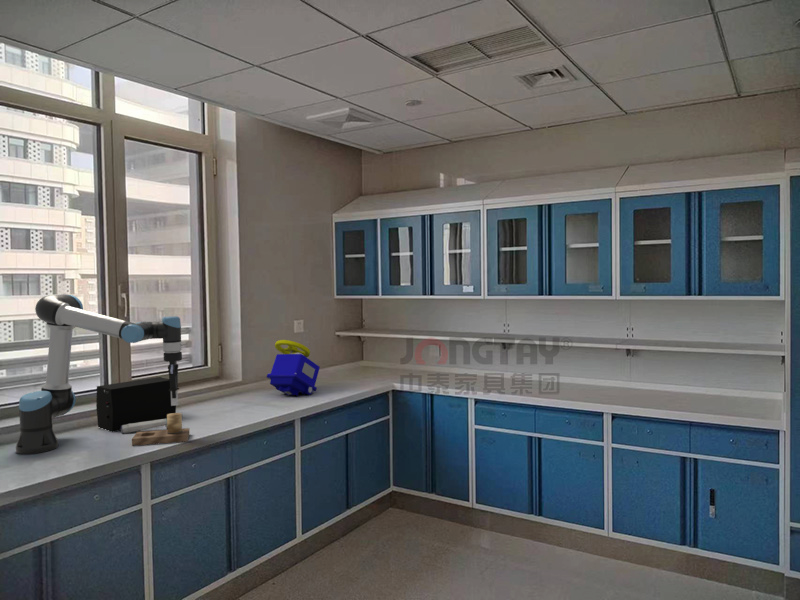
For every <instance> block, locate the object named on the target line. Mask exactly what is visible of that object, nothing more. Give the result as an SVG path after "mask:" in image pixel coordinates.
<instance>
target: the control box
mask: <svg viewBox="0 0 800 600" xmlns="http://www.w3.org/2000/svg"><path fill="white" fill-rule="evenodd" d="M282 346H287V347H285V348H283V347H282ZM274 348H275V350H277V351H278V352H280V353H279V354H278V353H277V354H276V356H275V358H274V363H273V364H272V365H273V366H272V368H271V372H268V373H267V375H266V378H267V379H269V380H270V381H269V384H270V385H271V386H273V387H274V388H275V390H276V391H277V390H278V391H279V392H282V393H283V394H284V395H285V394H286V396H288V395H289V396H295V395H296V397H298V395H299V393H301V394H302V395H303V394H307V395H309V396H310V395H312V394H313V392H316V391H317V386H316V383H317V379H318V375H319V372H320V368H321V367H320V366H319V365H318V364H316V363H315V362H314V361H312V360H311V359H310V358H308V357H309V356H310V354H311V351H310V349H309V347H307V346H306V345H304V344H301V342H300V343H299V342H297V341H294V340H288V339H279V340H277V341H276V342H275V344H274ZM281 353H282V354H281Z"/></svg>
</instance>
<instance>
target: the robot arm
mask: <svg viewBox="0 0 800 600" xmlns="http://www.w3.org/2000/svg"><path fill="white" fill-rule="evenodd" d="M34 309H35V314H36V316H37V317H38V319H39V320H41V321H43V322H44V323H46V325H47V327H49V330H50V331H49V341H48V354H47V364H46V365H47V367H46V378H45V383H43V384H42V385H41V389H40V390H38V391H33V392H29V393H25V394H24V395H22V396H21V397H20V398H19V401H18V403H19V404H18V410H19V413H18V414H19V435H18V437H17V438H18V439H17V443H16V445H15V453H17V454H20V455H31V454H34V455H35V454H40V453H45V452H50V451H53V450H54V449H57V448H58V447H59V440H58V437H57V436H56V434H55V431H54V429H53V428H54V427H53V419H55V418H58V417H61V416H64V415H65V414H67V413H69V412H70V411H71V410H73V408H74V407H75V404H76V401H77V399H76V395H75V393H74V391H73V390H72V389H73V385H72V384H70V383H69V376H70V366H71V365H70V364H71V354H72V342H73V331H74V329H75V328H79V329H83V330H86V331H87V330H88V331H90V332H95V333H99V334H103V335H107V336H110V337H114V338H118V339H122V340H123V341H125V343H128V344H136V343H139V342H143V341H147V340H155V339H162V350H163V361H164V362H169V364H168V365H167V370H168V377H169V378H168V379H169V382H170V390H169V391H171V406H175V405H176V406H179V397H178V396H179V394H178V393H179V392H178V390H180V387H179V385H178V384H179V382H178V381H179V379H178V377H179V375H178V374H179V364H178V363H177V362H180V361H182V360H183V353H182V347H183V346H184V344H183V343H182V324H181V318H180V317H179V316H163V317H162V319H161V321H138V322H135V323H134V322H132V321H127V320H123V319H120V318H116V317H112V316H109V315H104V314H101V313H97V312H93V311H90V310H89V311H88V310H86V309H84V305H83V302H82V301H81V300H80V298H78V297H77V296H75V295H74V294H73V295H72V294H66V293H63V294H62V293H61V294H49V295H48V294H47V295H44V296H43V297H41V298H39V300H38V301H37V302H36V304H35V307H34Z"/></svg>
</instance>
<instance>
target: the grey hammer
mask: <svg viewBox="0 0 800 600" xmlns="http://www.w3.org/2000/svg"><path fill="white" fill-rule="evenodd" d="M163 426H165V427H166V428H167V419H160V420H153V421H146V422H139V423H132V424H130V423H129V424H127V425H122V426H121V430H120V432H121V434H122V433H124V434H129V433H130V434H131V433H135V432H141V431H145V430H149V429H153V428H158V427H163Z"/></svg>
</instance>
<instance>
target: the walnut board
mask: <svg viewBox="0 0 800 600" xmlns="http://www.w3.org/2000/svg"><path fill="white" fill-rule="evenodd" d="M190 433H191V432H190V428H189V427H187V428H182V433H179V434H167V429H160V430H159V429H158V430H157V429H156V430H146V431H145V430H142V431H136V433H135V434H134V435H133V437H132V438H131V447H134V446H133V445H138V446H148V445H147V444H151V445H159V444H158V443H164V444H173V443H172V442H176V443H186V442H188V441H189V438H188V437H190V435H191V434H190ZM189 434H190V435H189ZM181 441H183V442H181ZM184 441H185V442H184Z"/></svg>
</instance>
